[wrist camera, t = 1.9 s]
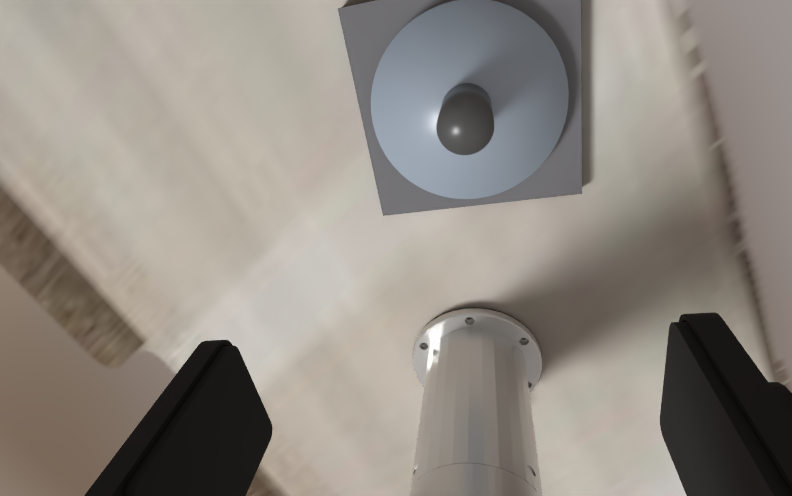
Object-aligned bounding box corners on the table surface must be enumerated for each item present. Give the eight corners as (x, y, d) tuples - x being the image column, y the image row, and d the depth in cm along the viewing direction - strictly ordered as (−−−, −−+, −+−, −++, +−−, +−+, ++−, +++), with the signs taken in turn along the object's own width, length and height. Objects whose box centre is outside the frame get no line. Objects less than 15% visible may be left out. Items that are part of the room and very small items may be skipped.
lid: (568, 182, 36) (583, 215, 31) (392, 203, 39) (380, 237, 34) (563, -23, 30) (582, -24, 25) (354, 21, 33) (332, 28, 28)
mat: (579, 188, 37) (582, 193, 37) (385, 210, 41) (383, 215, 40) (577, -43, 30) (580, -44, 29) (341, 7, 34) (337, 8, 33)
